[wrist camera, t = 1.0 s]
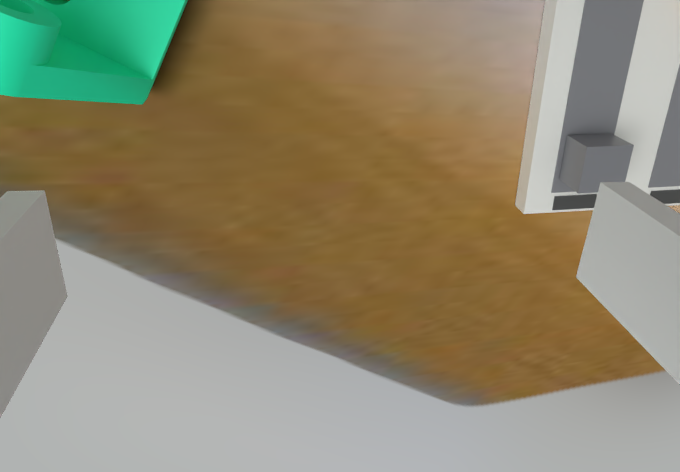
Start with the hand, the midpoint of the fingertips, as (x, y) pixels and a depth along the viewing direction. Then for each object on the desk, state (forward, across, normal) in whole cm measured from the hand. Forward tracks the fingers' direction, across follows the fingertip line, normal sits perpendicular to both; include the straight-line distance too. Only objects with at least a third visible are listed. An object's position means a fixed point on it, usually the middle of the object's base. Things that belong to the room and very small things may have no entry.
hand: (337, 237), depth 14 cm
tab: (+21, +19, -5) cm, 29 cm away
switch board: (+23, +22, 0) cm, 32 cm away
